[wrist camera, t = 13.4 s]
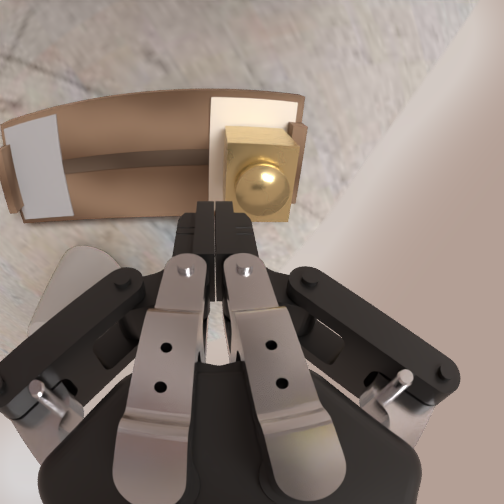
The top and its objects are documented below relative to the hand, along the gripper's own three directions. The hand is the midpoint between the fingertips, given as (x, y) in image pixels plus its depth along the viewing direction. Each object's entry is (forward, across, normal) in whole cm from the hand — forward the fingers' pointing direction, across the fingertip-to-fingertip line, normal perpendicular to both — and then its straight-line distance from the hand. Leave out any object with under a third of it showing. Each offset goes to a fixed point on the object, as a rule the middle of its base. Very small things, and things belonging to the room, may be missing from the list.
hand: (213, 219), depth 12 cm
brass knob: (+9, -3, 0) cm, 9 cm away
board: (+11, +6, 0) cm, 13 cm away
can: (+11, +13, +13) cm, 21 cm away
